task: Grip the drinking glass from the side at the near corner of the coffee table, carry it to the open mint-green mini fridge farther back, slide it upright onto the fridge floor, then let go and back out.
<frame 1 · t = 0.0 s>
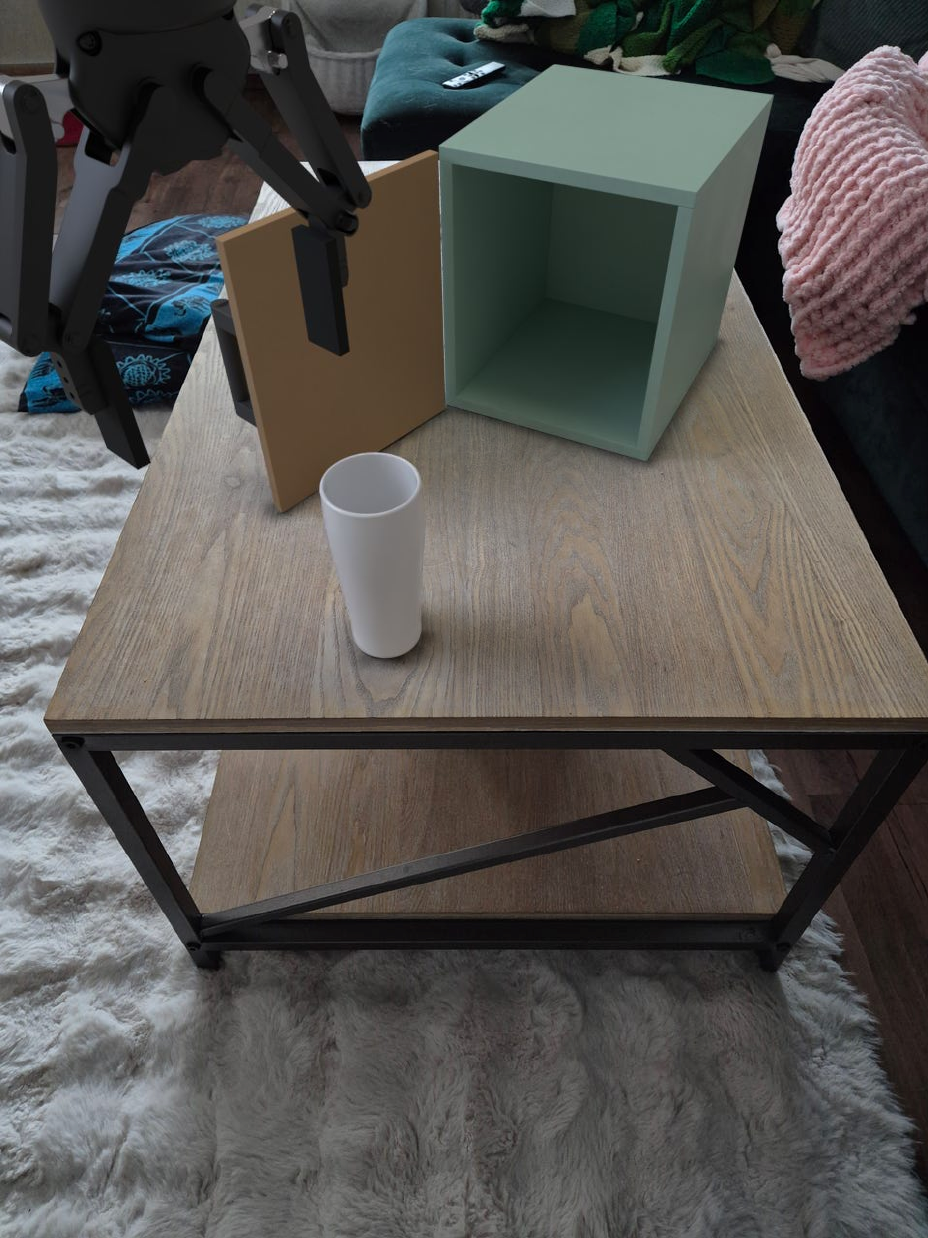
hand: (236, 397, 46), 24 cm above the table, tool pointing down, fingers open, 13 cm apart
fridge door: (331, 329, 73), point 12 cm above the table, hinge at 105.0°
drinking glass: (387, 637, 66), on the table
car cutout: (390, 229, 115), on the table
fridge: (586, 372, 91), on the table
cell phone: (357, 290, 103), on the table
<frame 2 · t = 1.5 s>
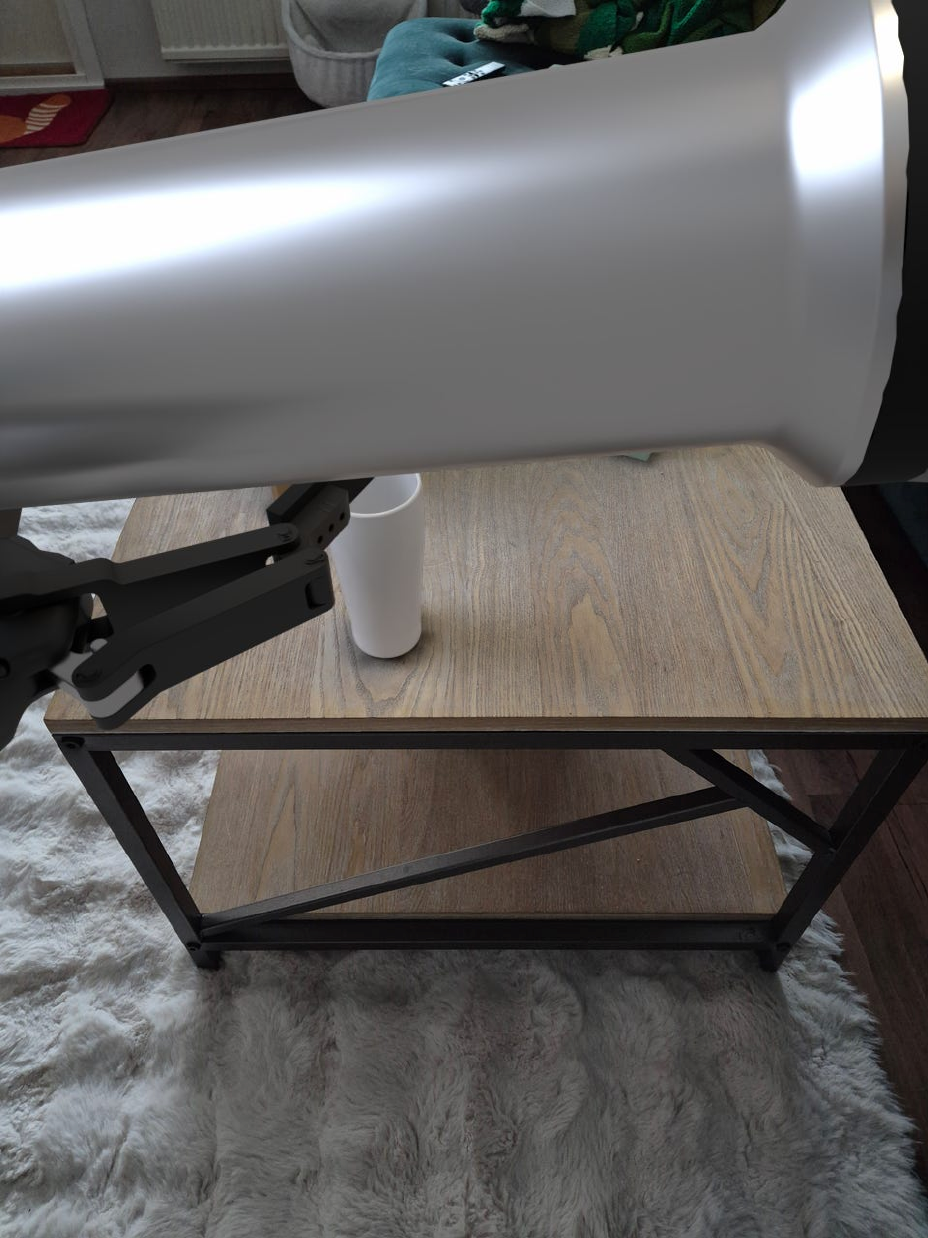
hand: (244, 409, 40), 27 cm above the table, tool horizontal, fingers open, 13 cm apart
nothing on the table moved.
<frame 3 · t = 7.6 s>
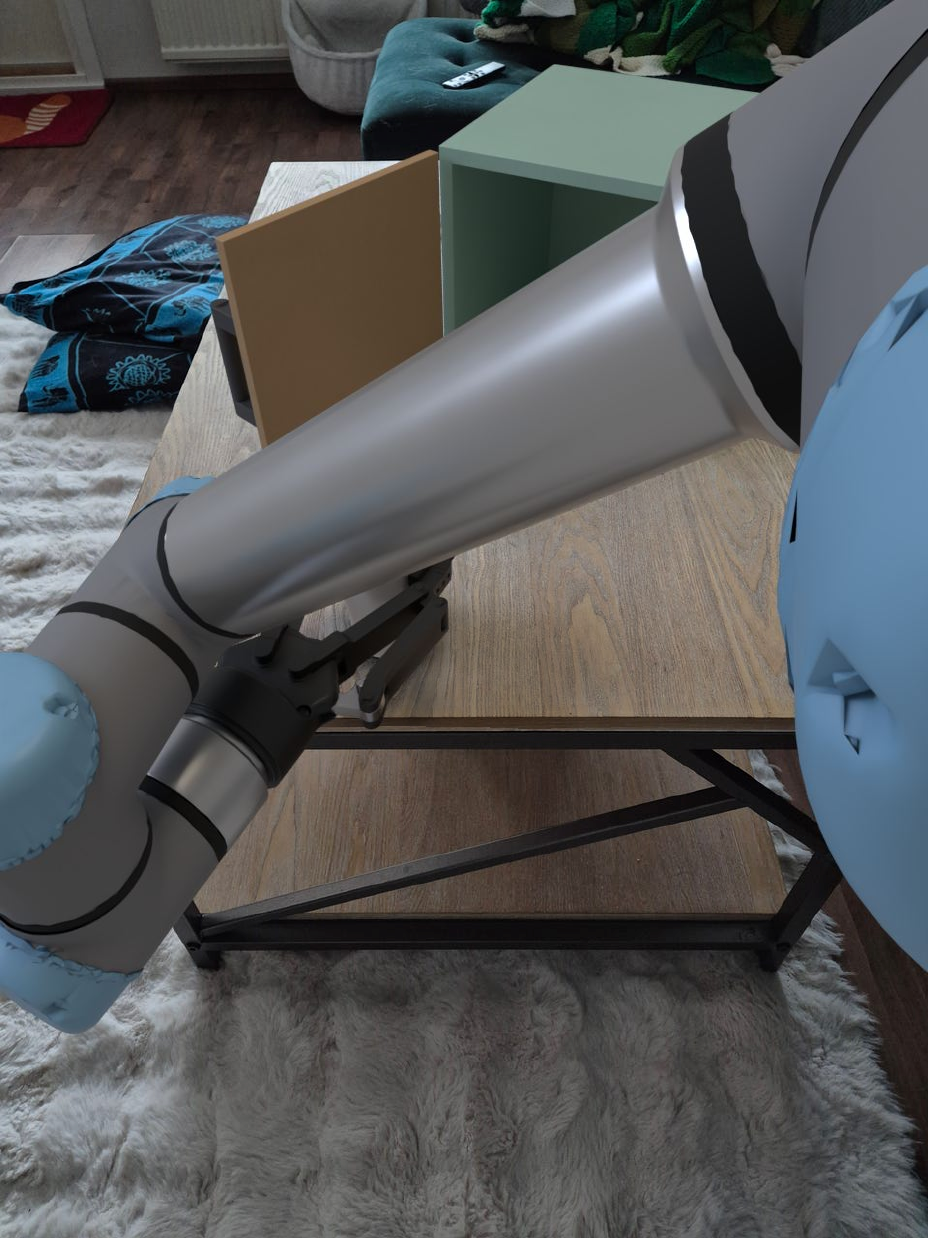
hand: (414, 518, 63), 8 cm above the table, tool horizontal, fingers closed on drinking glass, 6 cm apart
drinking glass: (387, 636, 66), on the table, touching gripper
everything else where it was.
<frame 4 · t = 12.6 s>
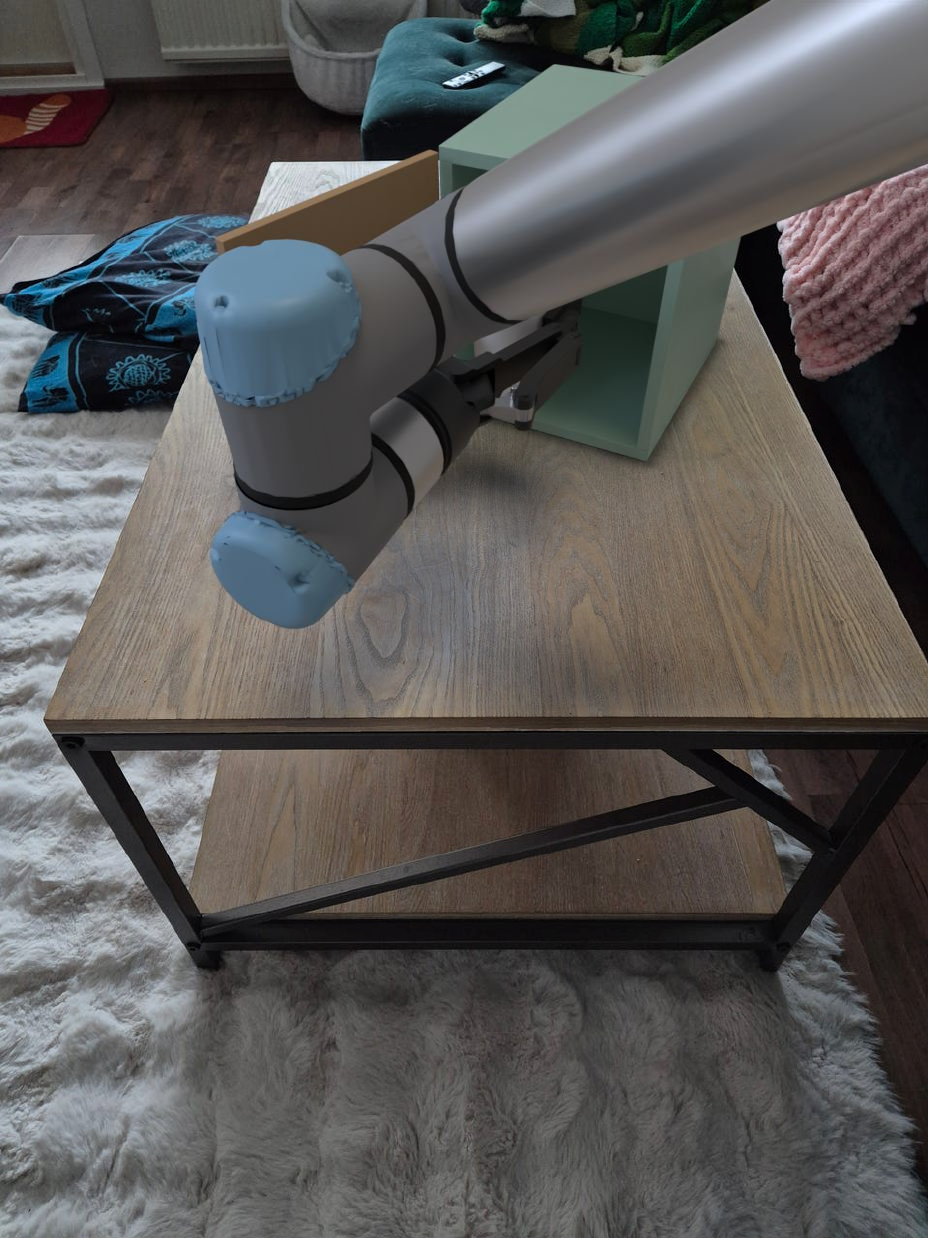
hand: (537, 287, 69), 16 cm above the table, tool horizontal, fingers closed on drinking glass, 6 cm apart
drinking glass: (508, 405, 73), point 8 cm above the table, touching gripper
everything else where it was.
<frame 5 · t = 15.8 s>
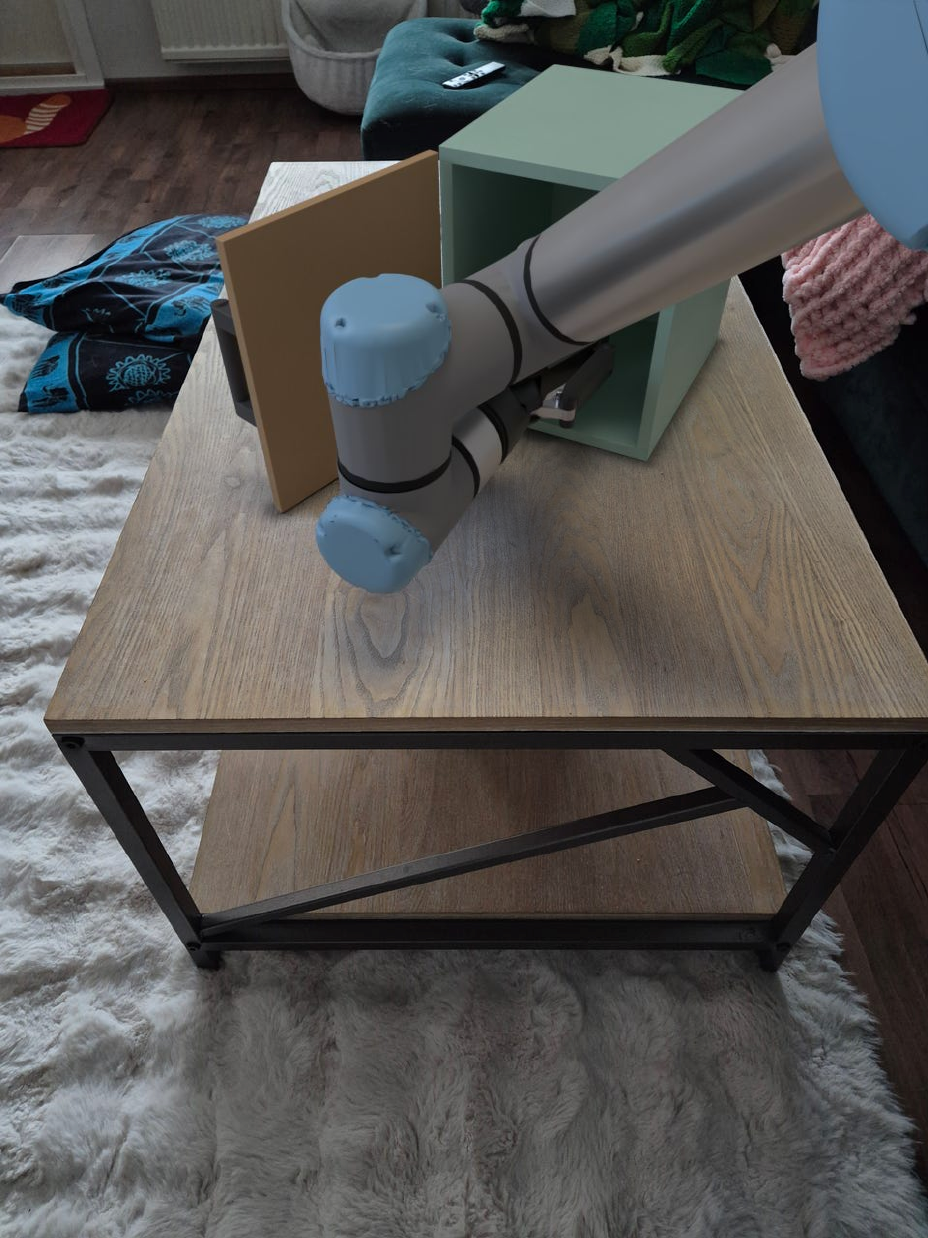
hand: (572, 303, 79), 11 cm above the table, tool horizontal, fingers closed on drinking glass, 6 cm apart
drinking glass: (545, 406, 82), point 2 cm above the table, touching gripper
everything else where it was.
when the fingers open (9 cm above the table, at t = 18.5 s): drinking glass stays where it is, resting on fridge.
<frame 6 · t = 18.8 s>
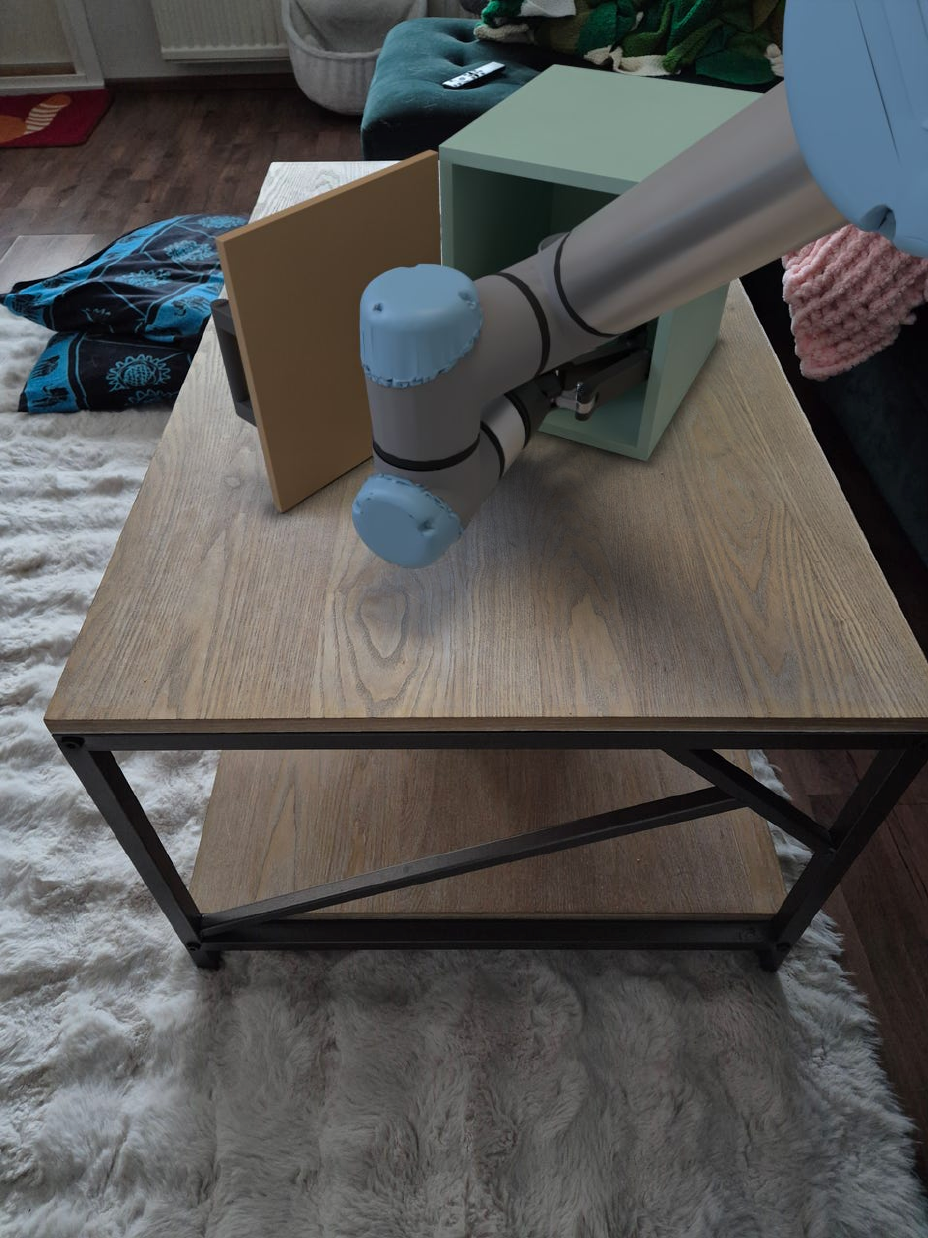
hand: (582, 303, 82), 9 cm above the table, tool horizontal, fingers open, 12 cm apart
drinking glass: (562, 397, 86), point 1 cm above the table, touching fridge
everything else where it was.
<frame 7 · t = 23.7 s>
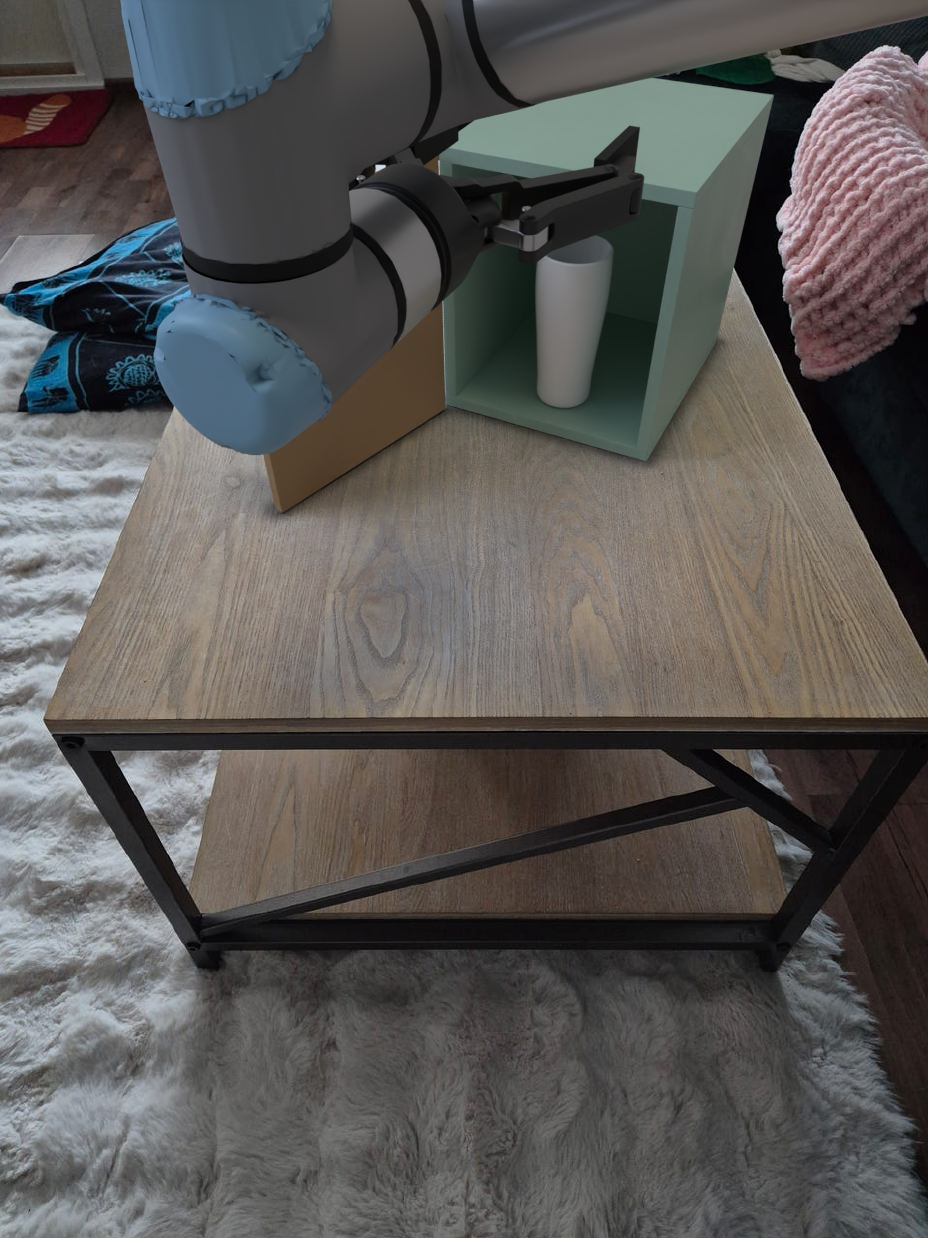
hand: (539, 132, 60), 28 cm above the table, tool horizontal, fingers open, 13 cm apart
nothing on the table moved.
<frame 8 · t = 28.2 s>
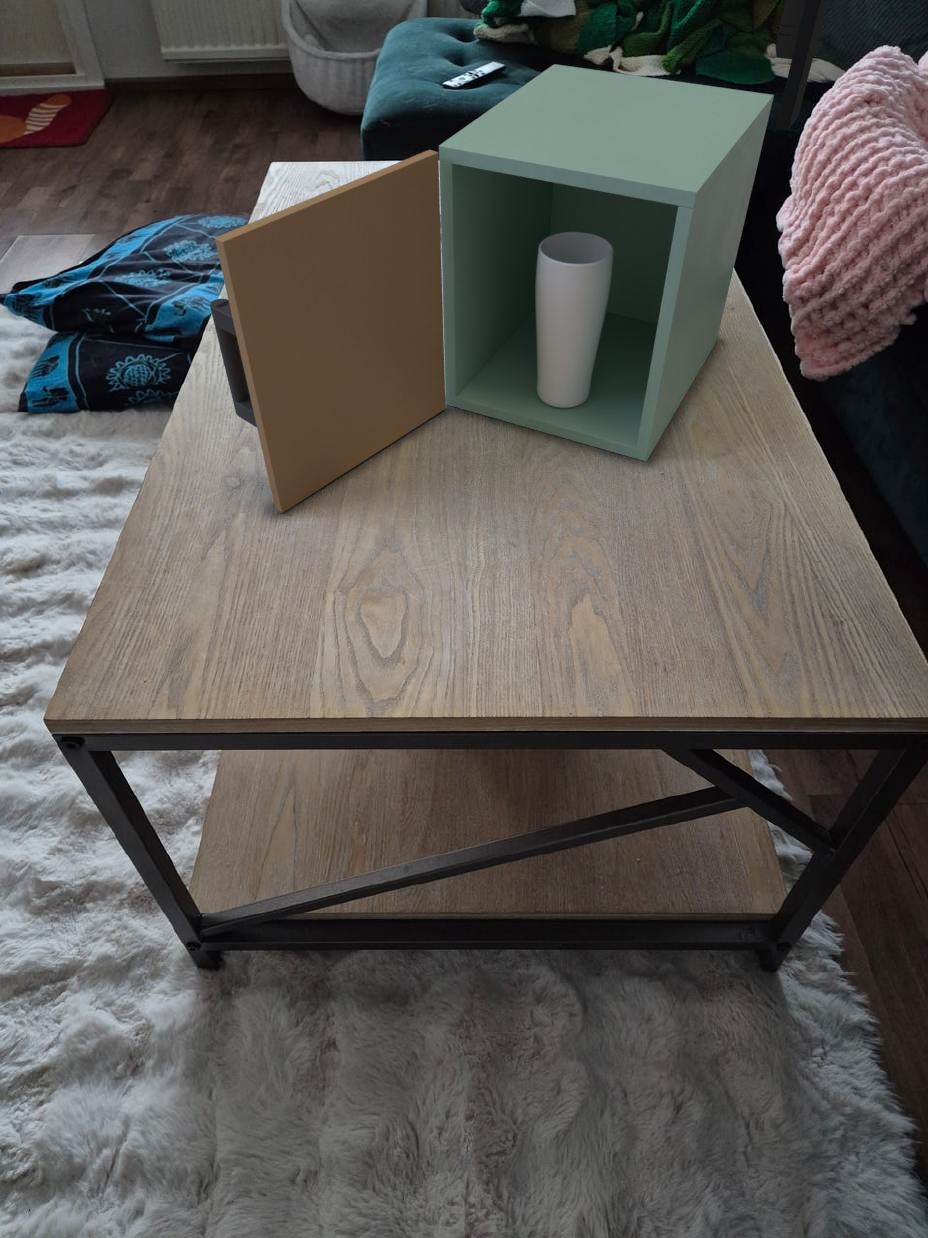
hand: (906, 141, 49), 32 cm above the table, tool pointing down, fingers open, 13 cm apart
nothing on the table moved.
at the end: drinking glass inside the target area in the fridge (0.1 cm from its centre), point 1.0 cm above the fridge's base; drinking glass tilted 0°; the gripper is holding nothing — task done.
